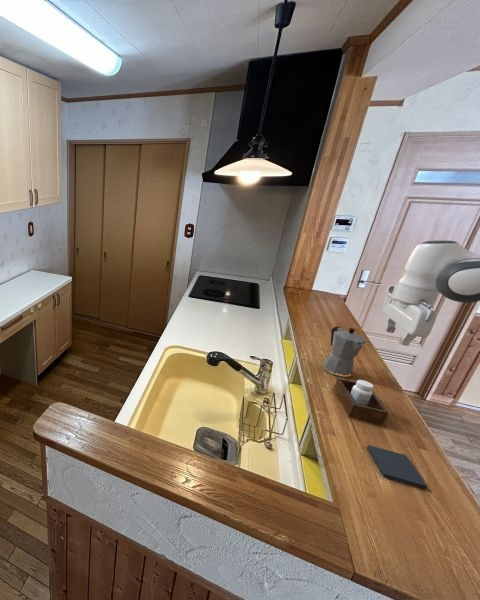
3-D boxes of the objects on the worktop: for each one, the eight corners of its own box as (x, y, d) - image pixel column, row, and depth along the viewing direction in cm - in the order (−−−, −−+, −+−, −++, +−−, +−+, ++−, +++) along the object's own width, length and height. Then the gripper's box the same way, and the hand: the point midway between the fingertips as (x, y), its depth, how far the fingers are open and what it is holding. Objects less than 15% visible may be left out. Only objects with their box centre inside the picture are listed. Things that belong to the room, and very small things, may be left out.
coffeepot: (361, 382, 116) (380, 338, 110) (334, 380, 117) (351, 335, 111) (334, 360, 130) (349, 319, 124) (310, 358, 131) (323, 317, 125)
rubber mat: (404, 457, 84) (405, 454, 83) (425, 489, 75) (427, 486, 75) (366, 447, 86) (368, 444, 86) (383, 476, 78) (384, 473, 77)
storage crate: (362, 395, 109) (367, 384, 107) (383, 425, 95) (388, 412, 94) (333, 388, 112) (337, 377, 110) (348, 416, 98) (353, 404, 96)
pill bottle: (369, 408, 102) (378, 386, 99) (359, 411, 100) (369, 389, 98) (352, 399, 106) (361, 377, 103) (343, 402, 105) (352, 380, 102)
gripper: (451, 309, 84) (428, 355, 88) (411, 287, 101) (393, 327, 106) (419, 304, 86) (399, 350, 91) (386, 284, 104) (370, 323, 108)
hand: (396, 337), depth 99 cm, fingers open, 8 cm apart
